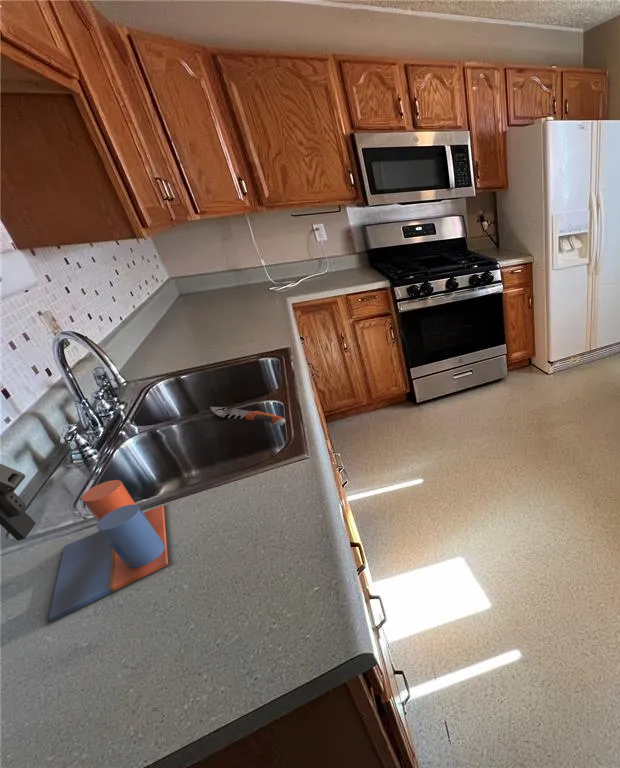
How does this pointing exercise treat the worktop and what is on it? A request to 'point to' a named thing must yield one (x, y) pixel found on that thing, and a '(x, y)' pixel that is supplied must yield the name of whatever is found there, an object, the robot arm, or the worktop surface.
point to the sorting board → (99, 569)
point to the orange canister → (106, 498)
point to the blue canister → (131, 536)
